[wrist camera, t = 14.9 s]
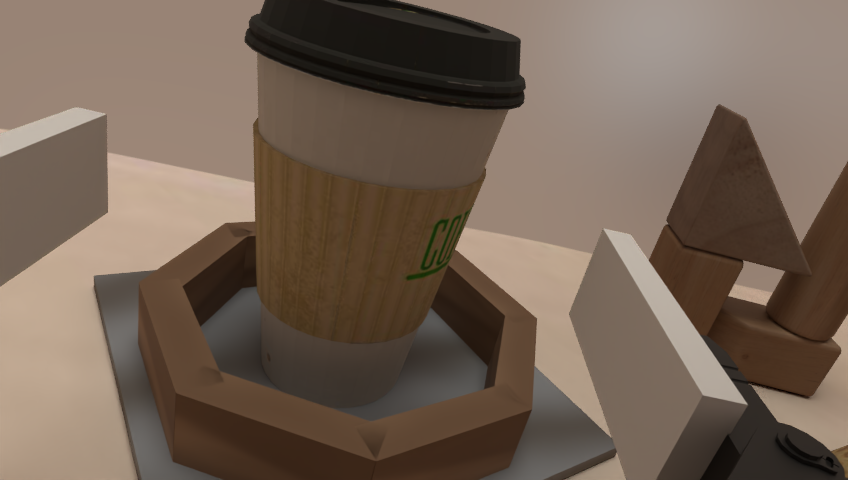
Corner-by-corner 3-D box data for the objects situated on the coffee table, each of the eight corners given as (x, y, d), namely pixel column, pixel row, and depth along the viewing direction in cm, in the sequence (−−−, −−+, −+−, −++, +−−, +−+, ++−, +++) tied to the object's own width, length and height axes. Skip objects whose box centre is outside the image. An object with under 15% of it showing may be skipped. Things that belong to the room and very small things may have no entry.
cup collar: (614, 455, 25) (646, 393, 24) (178, 652, 15) (184, 563, 13) (406, 255, 38) (418, 206, 36) (94, 286, 27) (92, 219, 26)
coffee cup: (481, 387, 26) (595, 57, 20) (298, 485, 19) (383, 27, 13) (352, 282, 32) (408, -1, 26) (176, 328, 25) (194, -42, 19)
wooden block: (619, 321, 36) (749, 28, 29) (783, 363, 36) (957, 80, 29) (631, 355, 33) (782, 34, 25) (813, 401, 33) (1019, 93, 25)
